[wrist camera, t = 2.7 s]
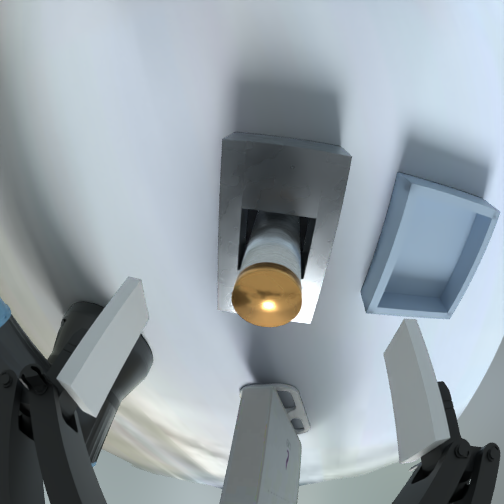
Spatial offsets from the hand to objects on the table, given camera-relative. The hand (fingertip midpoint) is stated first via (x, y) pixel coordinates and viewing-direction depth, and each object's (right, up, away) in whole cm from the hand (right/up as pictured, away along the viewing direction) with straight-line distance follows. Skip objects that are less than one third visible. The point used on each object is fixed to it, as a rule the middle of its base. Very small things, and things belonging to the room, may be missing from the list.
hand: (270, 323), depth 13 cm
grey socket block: (+1, +6, +10) cm, 12 cm away
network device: (+4, -23, +27) cm, 35 cm away
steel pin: (+1, +6, +10) cm, 12 cm away
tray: (+15, +4, +9) cm, 18 cm away
